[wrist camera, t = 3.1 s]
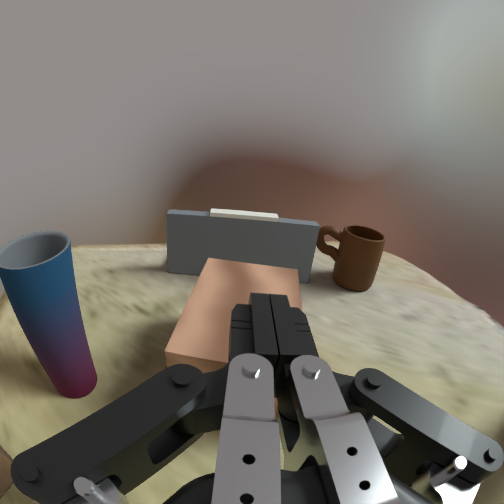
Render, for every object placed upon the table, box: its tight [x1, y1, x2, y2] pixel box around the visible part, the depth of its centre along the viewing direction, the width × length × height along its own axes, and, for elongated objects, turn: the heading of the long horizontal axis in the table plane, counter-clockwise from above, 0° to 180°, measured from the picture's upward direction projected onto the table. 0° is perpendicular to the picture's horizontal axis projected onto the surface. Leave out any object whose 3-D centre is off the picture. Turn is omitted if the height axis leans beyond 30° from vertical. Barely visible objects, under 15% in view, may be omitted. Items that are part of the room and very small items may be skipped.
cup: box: [0, 231, 97, 398], centre depth 20 cm, size 7×7×15 cm
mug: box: [316, 225, 385, 291], centre depth 47 cm, size 12×8×9 cm, turn 74°
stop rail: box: [167, 209, 320, 283], centre depth 47 cm, size 23×7×11 cm, turn 92°
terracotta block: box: [165, 258, 302, 420], centre depth 27 cm, size 10×15×9 cm, turn 175°
